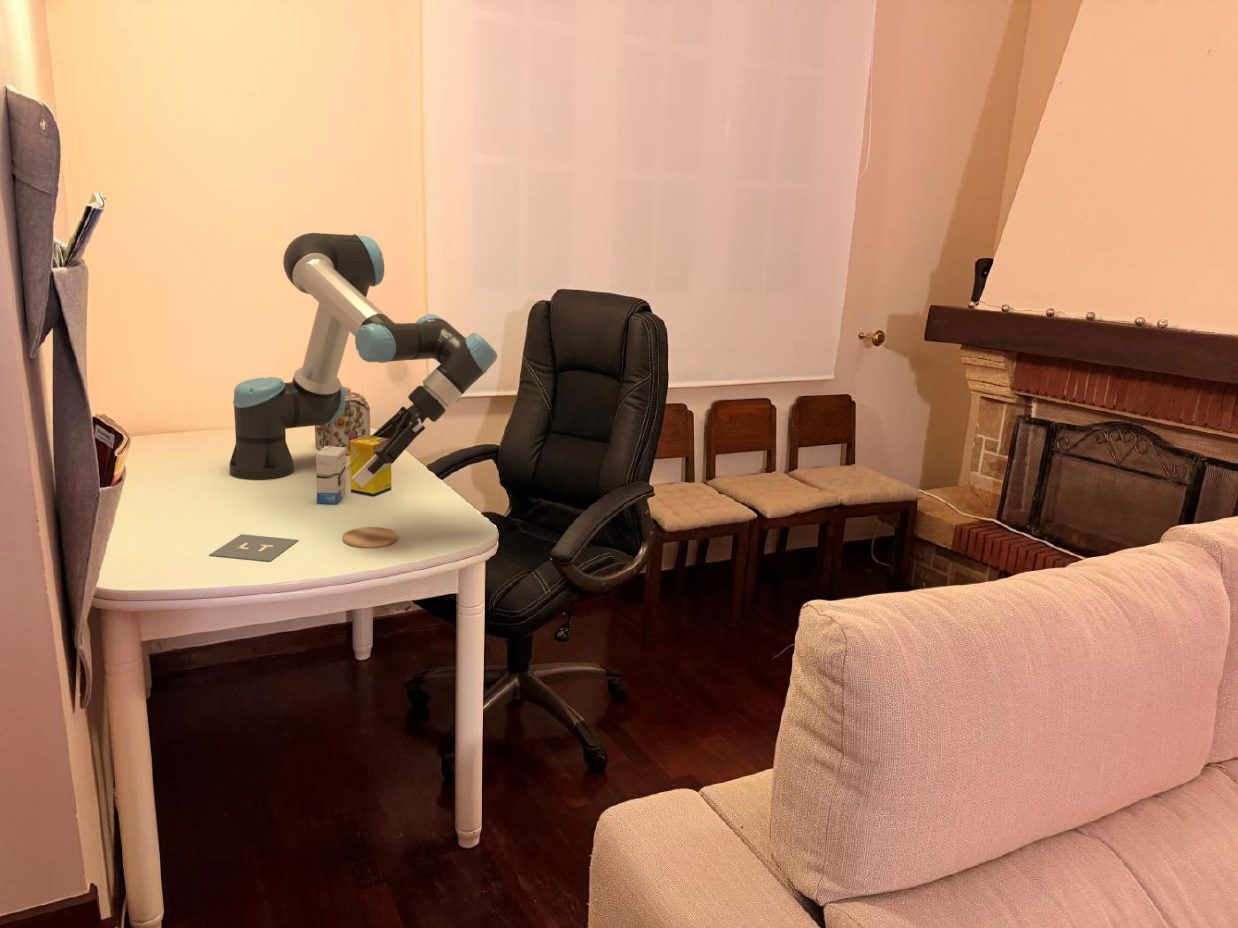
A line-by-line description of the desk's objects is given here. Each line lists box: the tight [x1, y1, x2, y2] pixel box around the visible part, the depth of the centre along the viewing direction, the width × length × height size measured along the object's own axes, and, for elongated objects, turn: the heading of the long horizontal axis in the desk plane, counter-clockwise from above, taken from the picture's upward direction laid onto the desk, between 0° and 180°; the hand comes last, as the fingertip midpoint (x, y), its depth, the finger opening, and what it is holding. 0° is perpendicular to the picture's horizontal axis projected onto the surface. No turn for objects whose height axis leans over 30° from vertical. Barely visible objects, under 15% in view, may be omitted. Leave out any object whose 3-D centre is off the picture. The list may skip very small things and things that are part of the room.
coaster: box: [341, 526, 399, 549], centre depth 179 cm, size 11×11×1 cm
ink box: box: [315, 446, 347, 505], centre depth 201 cm, size 8×5×12 cm, turn 4°
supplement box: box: [349, 435, 392, 498], centre depth 175 cm, size 6×6×11 cm
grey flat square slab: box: [208, 533, 299, 563], centre depth 169 cm, size 12×12×1 cm
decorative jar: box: [314, 386, 371, 456], centre depth 242 cm, size 12×12×18 cm
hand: (353, 476), depth 174 cm, fingers closed on supplement box, 8 cm apart
